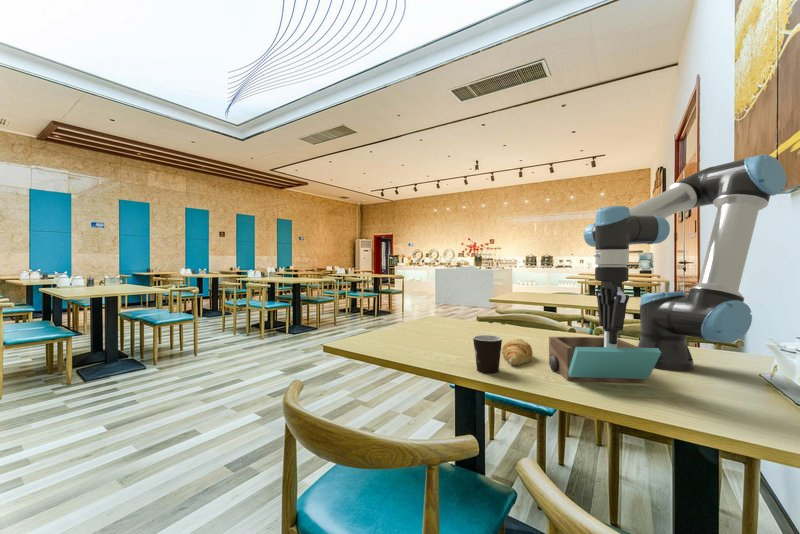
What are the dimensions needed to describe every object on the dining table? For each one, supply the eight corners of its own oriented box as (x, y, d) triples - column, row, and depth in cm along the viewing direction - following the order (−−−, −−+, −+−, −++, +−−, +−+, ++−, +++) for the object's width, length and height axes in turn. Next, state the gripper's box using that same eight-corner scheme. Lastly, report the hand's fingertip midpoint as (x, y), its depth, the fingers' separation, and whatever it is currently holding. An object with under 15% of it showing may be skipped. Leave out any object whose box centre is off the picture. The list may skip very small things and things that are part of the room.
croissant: (522, 379, 108) (535, 358, 107) (493, 361, 112) (505, 340, 110) (528, 361, 128) (539, 342, 126) (503, 346, 131) (513, 328, 129)
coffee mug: (498, 376, 100) (498, 342, 100) (469, 372, 105) (469, 339, 105) (507, 366, 110) (507, 335, 110) (480, 362, 115) (480, 332, 115)
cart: (619, 365, 110) (618, 337, 110) (649, 382, 94) (649, 349, 94) (544, 364, 112) (544, 336, 112) (562, 380, 97) (562, 348, 97)
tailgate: (644, 375, 94) (658, 348, 88) (647, 380, 93) (661, 352, 87) (567, 373, 96) (575, 346, 90) (569, 378, 95) (577, 351, 89)
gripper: (586, 265, 98) (585, 348, 99) (608, 266, 85) (607, 362, 86) (614, 265, 97) (613, 349, 98) (640, 266, 85) (639, 363, 85)
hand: (610, 355), depth 92 cm, fingers closed
